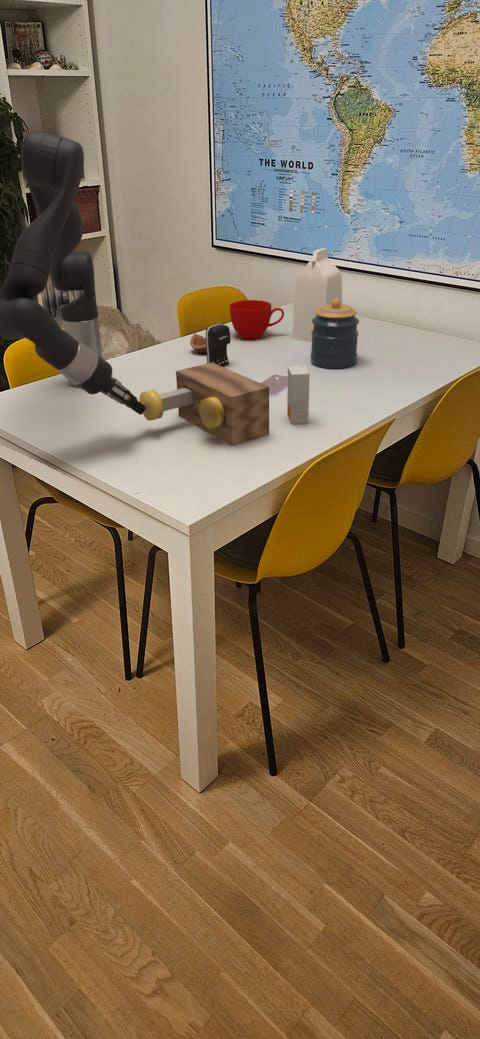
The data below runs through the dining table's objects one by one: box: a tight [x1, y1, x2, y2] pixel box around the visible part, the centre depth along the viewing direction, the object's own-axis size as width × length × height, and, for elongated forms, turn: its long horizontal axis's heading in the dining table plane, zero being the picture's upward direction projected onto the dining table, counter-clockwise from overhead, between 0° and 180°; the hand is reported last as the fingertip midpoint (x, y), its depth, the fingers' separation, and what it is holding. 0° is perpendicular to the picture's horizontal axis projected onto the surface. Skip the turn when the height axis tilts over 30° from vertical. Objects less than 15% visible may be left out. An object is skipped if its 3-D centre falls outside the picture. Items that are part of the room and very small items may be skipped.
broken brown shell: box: [189, 333, 207, 354], centre depth 212 cm, size 8×7×5 cm
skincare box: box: [286, 365, 310, 425], centre depth 163 cm, size 6×4×12 cm
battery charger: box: [205, 323, 231, 367], centre depth 198 cm, size 7×4×11 cm, turn 138°
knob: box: [138, 387, 194, 422], centre depth 161 cm, size 15×6×6 cm, turn 126°
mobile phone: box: [260, 374, 288, 398], centre depth 186 cm, size 8×1×15 cm
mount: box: [175, 362, 270, 447], centre depth 161 cm, size 13×22×11 cm, turn 36°
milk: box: [291, 247, 343, 343], centre depth 219 cm, size 12×12×26 cm
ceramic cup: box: [229, 299, 285, 341], centre depth 224 cm, size 13×17×10 cm
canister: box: [310, 299, 360, 370], centre depth 198 cm, size 13×13×18 cm
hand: (142, 410), depth 157 cm, fingers closed
